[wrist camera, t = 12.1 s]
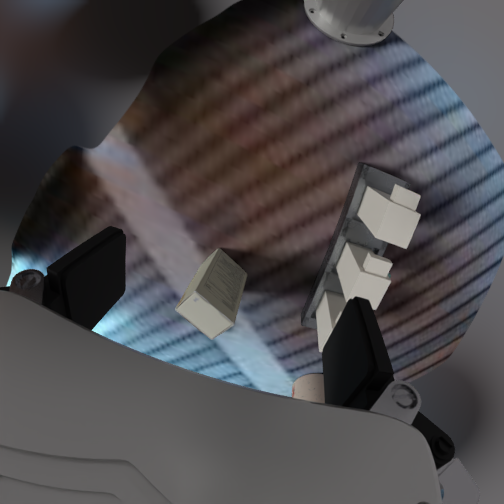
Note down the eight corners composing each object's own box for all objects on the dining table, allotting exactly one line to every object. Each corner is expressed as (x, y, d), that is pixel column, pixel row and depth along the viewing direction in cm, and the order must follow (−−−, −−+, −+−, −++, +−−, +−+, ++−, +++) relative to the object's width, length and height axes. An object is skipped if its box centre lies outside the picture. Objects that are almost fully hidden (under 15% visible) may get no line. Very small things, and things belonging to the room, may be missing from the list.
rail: (358, 162, 33) (364, 164, 30) (402, 180, 33) (410, 183, 30) (300, 313, 44) (301, 325, 41) (339, 323, 43) (341, 335, 41)
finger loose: (329, 279, 38) (338, 316, 30) (359, 287, 38) (372, 325, 30) (315, 311, 41) (319, 351, 32) (343, 318, 41) (352, 358, 32)
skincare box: (201, 263, 42) (171, 307, 31) (219, 246, 41) (192, 288, 30) (230, 291, 44) (211, 341, 33) (250, 275, 42) (234, 325, 31)
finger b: (350, 228, 35) (367, 256, 27) (381, 239, 35) (403, 268, 27) (335, 266, 37) (345, 302, 29) (365, 275, 37) (381, 311, 29)
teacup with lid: (283, 380, 51) (279, 427, 40) (325, 365, 48) (329, 415, 37) (307, 408, 54) (306, 451, 43) (345, 396, 51) (349, 440, 40)
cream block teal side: (371, 172, 32) (395, 184, 23) (402, 185, 32) (432, 201, 23) (356, 213, 34) (375, 237, 26) (387, 225, 34) (412, 251, 26)
